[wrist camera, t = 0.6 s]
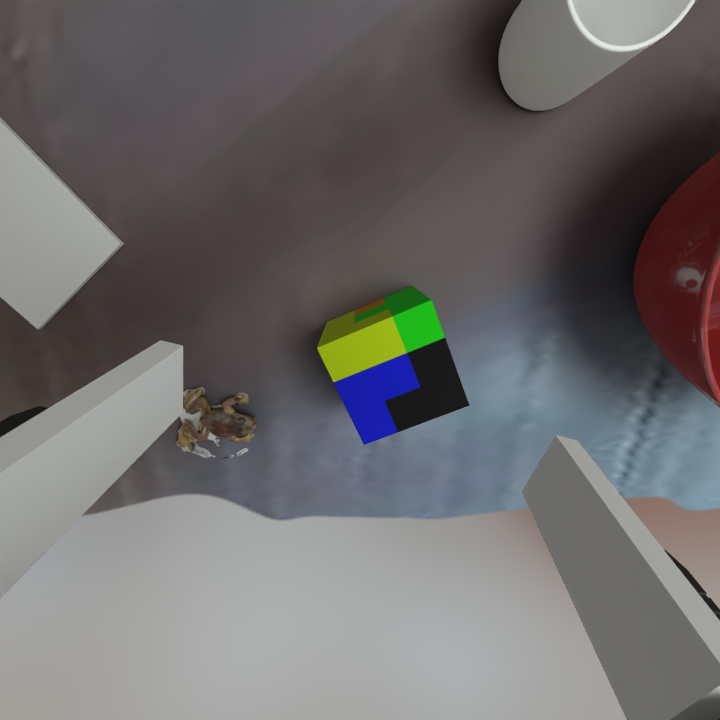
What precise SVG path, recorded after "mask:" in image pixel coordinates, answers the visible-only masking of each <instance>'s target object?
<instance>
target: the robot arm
mask: <svg viewBox="0 0 720 720" xmlns="http://www.w3.org/2000/svg"><path fill="white" fill-rule="evenodd" d="M182 413H183V346H182V345H178V344H174V343H169V342H165V341H161V340H160V341H159V342H157V343H155V344H154V345H152V346H150V347H149V348H147V349H146V350H144V351H142V352H141V353H139V354H137V355H136V356H134V357H132V358H131V359H129V360H127V361H126V362H124V363H122V364H121V365H119V366H117V367H116V368H114V369H112V370H111V371H109V372H108V373H106V374H104V375H103V376H101V377H99V378H98V379H96V380H94V381H93V382H91V383H89V384H88V385H86V386H84V387H83V388H81V389H79V390H78V391H76V392H74V393H73V394H71V395H70V396H68V397H66V398H65V399H63V400H61V401H60V402H58V403H56V404H55V405H53V406H51V407H50V408H46V407H41V406H39V407H36V408H33V409H30V410H27V411H24V412H21V413H18V414H15V415H12V416H10V417H8V418H6V419H5V420H3V421H1V422H0V598H1V597H2V596H3V595H4V594H5V593H6V592H7V591H8V590H9V589H10V588H11V587H12V586H13V585H14V584H15V583H16V582H17V581H18V580H19V579H20V578H21V577H22V576H23V575H24V574H25V573H26V572H27V571H28V570H29V569H30V568H31V567H32V566H33V565H34V564H35V563H36V562H37V561H38V560H39V559H40V558H41V557H42V556H43V554H45V552H46V551H47V550H48V549H49V548H50V547H51V546H52V545H53V544H54V543H55V542H56V541H57V540H58V539H59V538H60V537H61V536H62V535H63V534H64V533H65V532H66V531H67V530H68V529H69V528H70V527H71V526H72V525H73V524H74V523H75V522H76V521H77V520H78V519H79V518H80V517H81V516H82V515H83V514H84V513H85V512H86V511H87V510H88V509H89V508H90V507H91V506H92V505H93V503H94V502H95V501H96V500H97V499H98V498H99V497H100V496H101V495H102V494H103V493H104V492H105V491H106V490H107V489H108V488H109V487H110V486H111V485H112V484H113V483H114V482H115V481H116V480H117V479H118V478H119V477H120V476H121V475H122V474H123V473H124V472H125V471H126V470H127V469H128V468H129V467H130V466H131V465H132V464H133V463H134V462H135V461H136V460H137V459H138V458H139V457H140V456H141V455H142V453H143V452H144V451H145V450H146V449H147V448H148V447H149V446H150V445H151V444H152V443H153V442H154V441H155V440H156V439H157V438H158V437H159V436H160V435H161V434H162V433H163V432H164V431H165V430H166V429H167V428H168V427H169V426H170V425H171V424H172V423H173V422H174V421H175V420H176V419H177V418H178V417H179V416H180V415H181V414H182ZM522 493H523V495H524V497H525V499H526V502H527V504H528V506H529V508H530V510H531V512H532V515H533V517H534V519H535V521H536V523H537V525H538V528H539V530H540V532H541V534H542V536H543V538H544V541H545V543H546V545H547V547H548V549H549V552H550V553H551V556H552V558H553V560H554V562H555V564H556V567H557V569H558V571H559V573H560V575H561V578H562V580H563V582H564V584H565V586H566V588H567V591H568V593H569V595H570V597H571V599H572V601H573V604H574V606H575V608H576V610H577V612H578V614H579V617H580V619H581V621H582V623H583V625H584V627H585V629H586V632H587V634H588V636H589V638H590V641H591V642H592V645H593V647H594V649H595V651H596V654H597V656H598V658H599V660H600V662H601V664H602V667H603V669H604V671H605V673H606V675H607V677H608V680H609V682H610V684H611V686H612V688H613V690H614V693H615V695H616V697H617V699H618V701H619V704H620V706H621V708H622V710H623V712H624V714H625V716H626V719H627V720H720V609H719V608H718V607H717V606H716V604H715V603H714V602H713V601H712V599H711V598H708V597H707V596H706V592H705V591H704V590H703V588H702V587H701V586H700V585H699V584H698V582H697V581H696V580H695V579H694V577H693V576H692V575H691V574H690V573H689V571H688V570H687V569H686V568H685V567H683V566H682V565H681V564H680V563H679V562H678V561H677V560H676V559H675V558H674V557H672V556H671V555H670V554H669V553H668V552H667V551H666V550H663V549H662V547H661V546H660V545H659V543H658V542H657V541H656V540H655V538H654V537H653V536H652V534H651V533H650V532H649V531H648V529H647V528H646V527H645V526H644V524H643V523H642V522H641V520H640V519H639V518H638V517H637V515H636V514H635V513H634V512H633V510H632V509H631V508H630V507H629V505H628V504H627V503H626V502H625V500H624V499H623V498H622V496H621V495H620V494H619V493H618V491H617V490H616V489H615V488H614V486H613V485H612V484H611V483H610V481H609V480H608V479H607V478H606V476H605V475H604V474H603V472H602V471H601V470H600V469H599V467H598V466H597V465H596V464H595V462H594V461H593V460H592V459H591V457H590V456H589V455H588V454H587V452H586V451H585V450H584V448H583V447H582V446H581V445H580V443H579V442H578V441H577V440H574V439H570V438H565V437H561V436H557V435H556V436H555V438H554V439H553V441H552V443H551V444H550V446H549V448H548V449H547V451H546V453H545V454H544V456H543V458H542V459H541V461H540V463H539V464H538V466H537V468H536V469H535V471H534V472H533V474H532V476H531V477H530V479H529V481H528V482H527V484H526V486H525V487H524V489H523V491H522Z"/></svg>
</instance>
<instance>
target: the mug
mask: <svg viewBox="0 0 720 720" xmlns="http://www.w3.org/2000/svg"><path fill="white" fill-rule="evenodd" d="M696 1H698V0H522V1H521V2H520V4H519V5H518V7H517V8H516V10H515V11H514V13H513V15H512V16H511V18H510V20H509V22H508V24H507V26H506V28H505V31H504V33H503V36H502V40H501V43H500V48H499V56H498V67H499V74H500V78H501V82H502V84H503V87H504V89H505V91H506V92H507V94H508V95H509V96H510V98H511V99H512V100H513V101H514V102H515V103H517V104H518V105H520V106H521V107H523V108H525V109H529V110H534V111H544V110H549V109H553V108H556V107H558V106H560V105H562V104H564V103H566V102H568V101H569V100H571V99H572V98H574V97H576V96H577V95H579V94H580V93H581V92H583V91H584V90H586V89H587V88H589V87H590V86H592V85H593V84H595V83H596V82H598V81H599V80H601V79H602V78H603V77H605V76H606V75H608V74H609V73H611V72H612V71H614V70H615V69H617V68H618V67H620V66H621V65H623V64H624V63H626V62H627V61H628V60H630V59H631V58H633V57H634V56H636V55H637V54H639V53H640V52H642V51H643V50H645V49H646V48H648V47H649V46H651V45H652V44H653V43H655V42H656V41H658V40H659V39H661V38H662V37H664V36H665V35H666V34H667V33H669V32H670V31H671V30H672V29H673V28H674V27H675V26H676V25H677V24H678V23H679V22H680V21H681V20H682V19H683V17H684V16H685V15H686V14H687V12H688V11H689V10H690V8H691V7H692V5H693V4H694V3H695V2H696Z"/></svg>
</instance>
